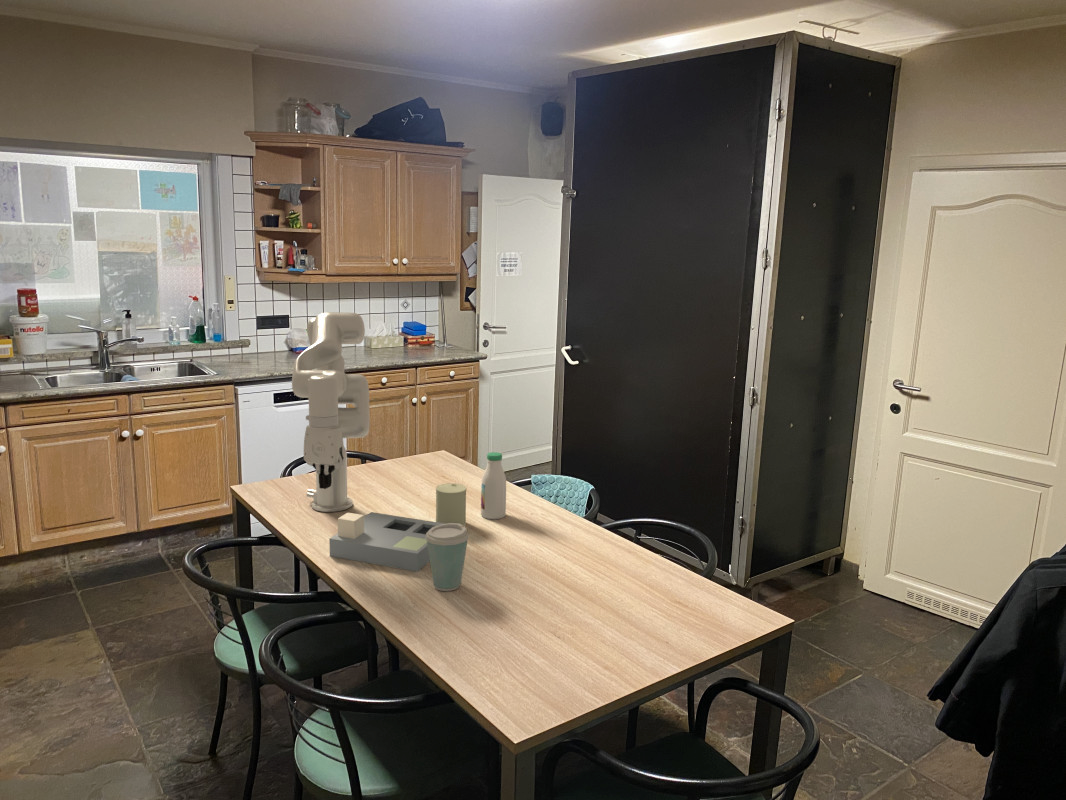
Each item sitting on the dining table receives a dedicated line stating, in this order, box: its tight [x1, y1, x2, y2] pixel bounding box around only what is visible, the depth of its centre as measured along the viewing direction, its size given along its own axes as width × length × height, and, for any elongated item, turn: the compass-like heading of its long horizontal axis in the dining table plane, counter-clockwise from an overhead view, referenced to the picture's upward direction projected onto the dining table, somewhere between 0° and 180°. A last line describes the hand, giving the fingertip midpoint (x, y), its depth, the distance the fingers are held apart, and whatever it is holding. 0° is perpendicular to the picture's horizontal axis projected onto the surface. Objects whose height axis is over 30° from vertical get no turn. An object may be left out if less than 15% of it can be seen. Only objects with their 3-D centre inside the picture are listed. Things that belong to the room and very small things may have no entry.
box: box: [328, 511, 444, 572], centre depth 214 cm, size 26×22×5 cm
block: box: [337, 512, 365, 539], centre depth 210 cm, size 5×5×5 cm
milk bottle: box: [480, 451, 507, 520], centre depth 240 cm, size 8×8×20 cm
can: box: [435, 482, 467, 527], centre depth 232 cm, size 9×9×12 cm
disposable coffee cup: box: [426, 523, 470, 592], centre depth 191 cm, size 11×11×15 cm
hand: (325, 487), depth 211 cm, fingers closed
